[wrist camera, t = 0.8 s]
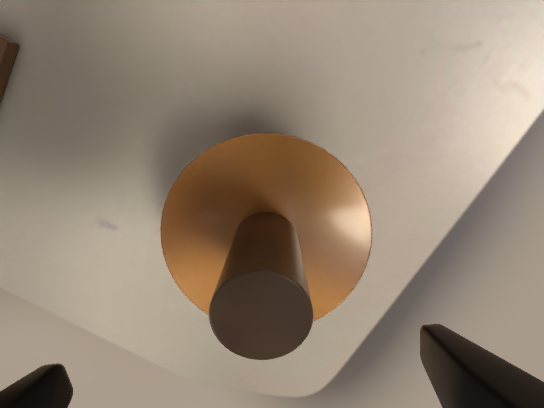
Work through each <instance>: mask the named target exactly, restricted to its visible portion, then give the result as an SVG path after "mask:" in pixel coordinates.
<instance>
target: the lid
mask: <svg viewBox="0 0 544 408" xmlns="http://www.w3.org/2000/svg"><path fill="white" fill-rule="evenodd" d="M371 243H372V223H371V215H370V211H369V208H368V204H367V201H366V199H365V196H364V194H363V191H362V189H361V188H360V186H359V184H358V183H357V181H356V179H355V178H354V177H353V175H352V174H351V173H350V172H349V170H348V169H347V168H346V167H345V166H344V165H343V164H342V163H341V162H340V161H339V160H338V159H337V158H335V157H334V156H333V155H331V154H330V153H328V152H327V151H325V150H324V149H322V148H320V147H318V146H317V145H315V144H313V143H311V142H308V141H306V140H303V139H300V138H297V137H294V136H289V135H284V134H276V133H255V134H248V135H243V136H238V137H234V138H232V139H229V140H226V141H223V142H221V143H219V144H217V145H215V146H213V147H211V148H209V149H207V150H206V151H205V152H203V153H202V154H200V155H199V156H197V157H196V158H195V159H194V160H193V161H192V162H191V163H190V164H189V165H188V166H187V167H186V168H185V169H184V170H183V171H182V173H181V174H180V175H179V176H178V178H177V179H176V181H175V183H174V184H173V186H172V188H171V189H170V192H169V194H168V197H167V199H166V201H165V205H164V209H163V213H162V219H161V244H162V249H163V255H164V258H165V261H166V264H167V267H168V269H169V271H170V273H171V275H172V277H173V279H174V280H175V282H176V284H177V285H178V287H179V288H180V289H181V291H182V292H183V293H184V294H185V295H186V297H187V298H188V299H189V300H191V301H192V302H193V303H194V304H195V305H196V306H197V307H198V308H200V309H201V310H202V311H204V312H205V313H207V314H208V315H209V319H210V324H211V327H212V330H213V332H214V334H215V336H216V337H217V339H218V340H219V341H220V342H221V343H222V344H223V345H224V346H225V347H226V348H227V349H229V350H230V351H232V352H234V353H235V354H237V355H240V356H242V357H246V358H250V359H257V360H268V359H274V358H278V357H281V356H284V355H286V354H288V353H290V352H292V351H293V350H295V349H296V348H297V347H298V346H299V345H301V344H302V342H303V341H304V340H305V339H306V337H307V335H308V334H309V331H310V329H311V326H312V323H313V321H315V320H317V319H319V318H320V317H322V316H324V315H326V314H327V313H329V312H330V311H332V310H333V309H334V308H336V307H337V306H338V305H339V304H340V303H341V302H342V301H343V300H345V299H346V297H347V296H348V295H349V294H350V293H351V291H352V290H353V289H354V287H355V286H356V284H357V283H358V281H359V280H360V278H361V276H362V274H363V272H364V270H365V268H366V264H367V261H368V258H369V255H370V249H371Z"/></svg>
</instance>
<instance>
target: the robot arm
mask: <svg viewBox="0 0 544 408" xmlns="http://www.w3.org/2000/svg"><path fill="white" fill-rule="evenodd" d="M420 356H421V360H422V363H423V366H424V368H425V370H426V372H427V375H428V377H429V379H430V381H431V383H432V385H433V388H434V390H435V392H436V394H437V396H438V398H439V401H440V403H441V405H442V407H443V408H544V382H543V381H541V380H539V379H537V378H535V377H534V376H532V375H530V374H528V373H527V372H525V371H523V370H521V369H519V368H518V367H516V366H514V365H512V364H511V363H509V362H507V361H505V360H503V359H502V358H499V357H498V356H496V355H494V354H493V353H491V352H489V351H487V350H485V349H483V348H482V347H480V346H478V345H476V344H475V343H473V342H471V341H469V340H468V339H465V338H464V337H462V336H460V335H459V334H457V333H455V332H453V331H451V330H450V329H448V328H446V327H444V326H442V325H440V324H431V325H423V326H422V327H421V330H420ZM72 395H73V388H72V385H71V382H70V380H69V377H68V375H67V372H66V370H65V367H64V366H63V365H62V364H49V365H44V366H41V367H40V368H38V369H36V370H35V371H33V372H31V373H30V374H28V375H27V376H25V377H23V378H22V379H20V380H18V381H17V382H15V383H13V384H12V385H10V386H9V387H7V388H5V389H4V390H2V391H0V408H67V407H68V405H69V403H70V401H71V399H72Z"/></svg>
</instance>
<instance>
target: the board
mask: <svg viewBox="0 0 544 408" xmlns="http://www.w3.org/2000/svg"><path fill="white" fill-rule="evenodd" d="M18 47H19V45H18V44H16V43H15V42H13V41H11V40H10V39H8V38H6V37H4V36H3V35H1V34H0V101H1V98H2V95H3V92H4V89H5V86H6V83H7V80H8V77H9V74H10V71H11V68H12V65H13V62H14V59H15V56H16V53H17V50H18Z"/></svg>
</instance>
